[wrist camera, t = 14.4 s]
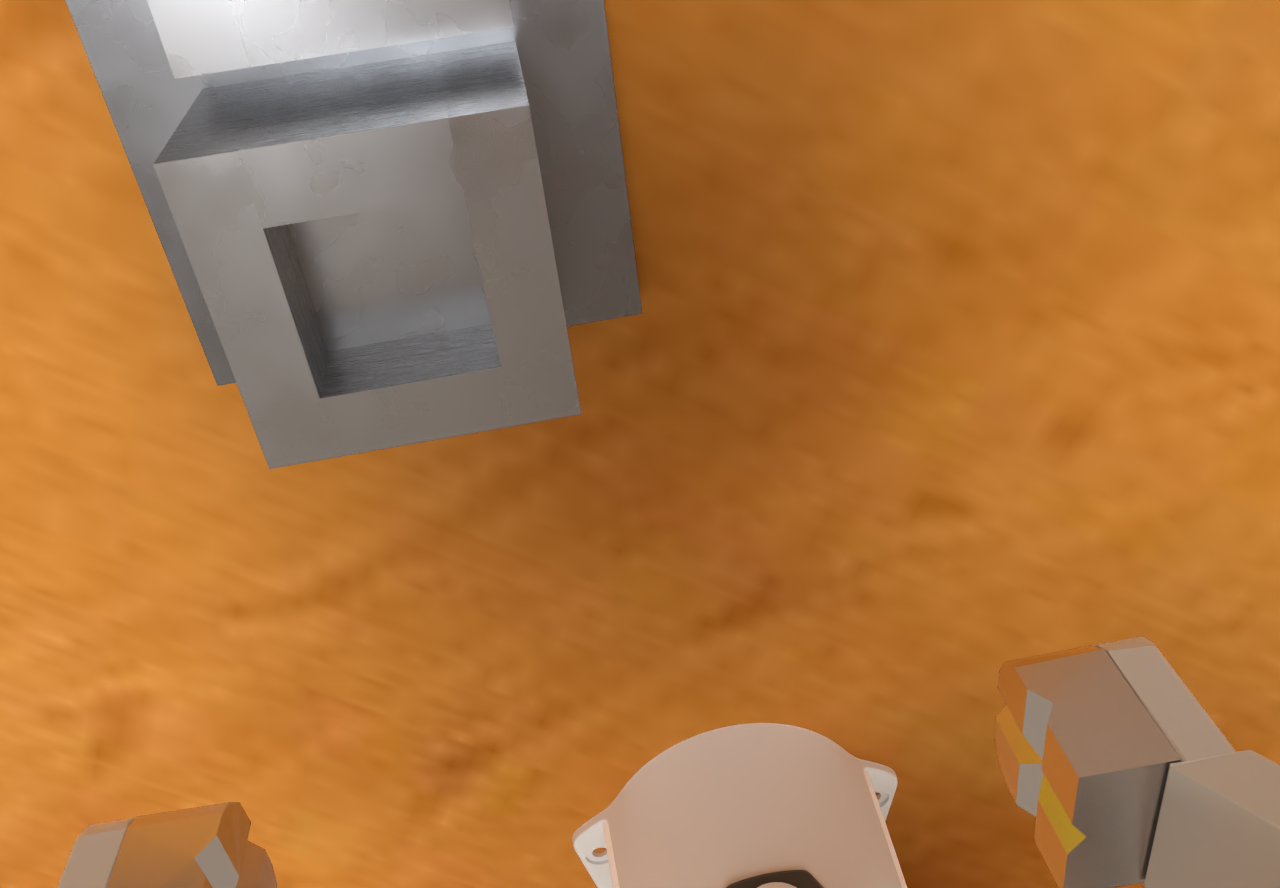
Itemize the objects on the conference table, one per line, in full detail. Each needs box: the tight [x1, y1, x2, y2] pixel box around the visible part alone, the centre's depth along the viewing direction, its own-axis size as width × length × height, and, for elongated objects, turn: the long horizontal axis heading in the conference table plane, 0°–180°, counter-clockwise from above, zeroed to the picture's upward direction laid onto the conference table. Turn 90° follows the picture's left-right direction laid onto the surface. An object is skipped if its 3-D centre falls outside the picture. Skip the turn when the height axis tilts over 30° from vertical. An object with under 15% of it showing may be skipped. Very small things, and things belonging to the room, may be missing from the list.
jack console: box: [65, 0, 642, 469], centre depth 32 cm, size 22×16×8 cm
